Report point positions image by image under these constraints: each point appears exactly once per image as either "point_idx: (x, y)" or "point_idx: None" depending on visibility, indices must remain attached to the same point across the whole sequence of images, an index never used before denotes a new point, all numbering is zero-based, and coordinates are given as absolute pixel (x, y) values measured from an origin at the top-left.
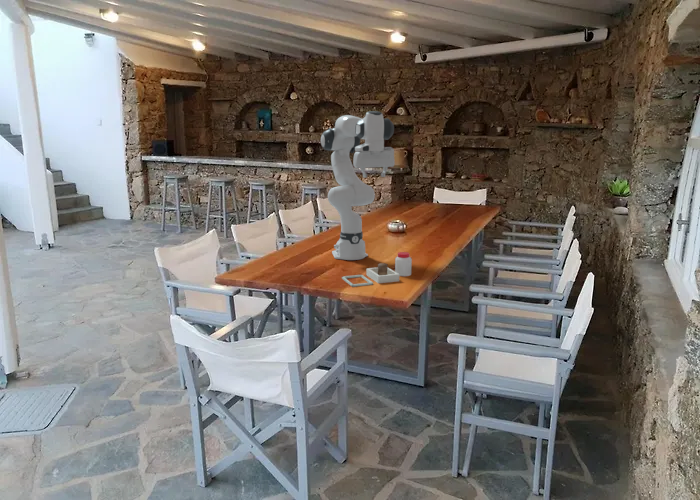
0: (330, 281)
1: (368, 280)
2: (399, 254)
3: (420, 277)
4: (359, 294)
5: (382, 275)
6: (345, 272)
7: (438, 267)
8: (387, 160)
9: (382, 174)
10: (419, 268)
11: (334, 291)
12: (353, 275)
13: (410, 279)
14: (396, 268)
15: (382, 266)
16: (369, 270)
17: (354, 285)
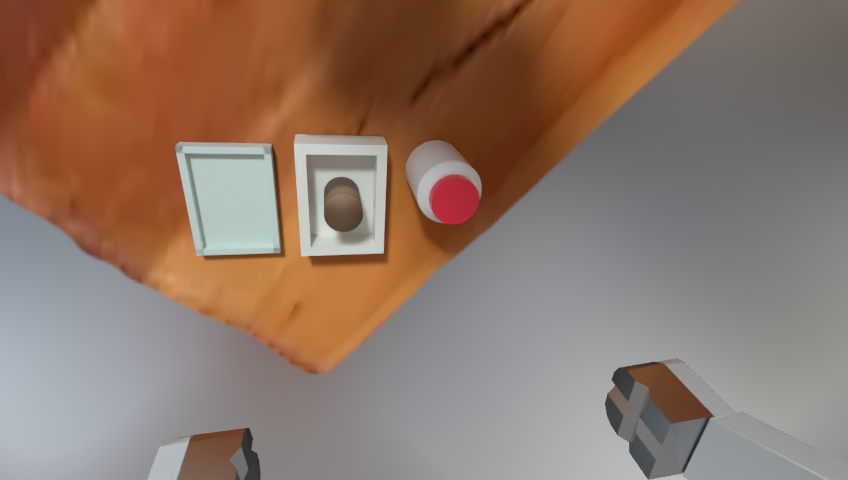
0: (124, 144)
1: (272, 225)
2: (432, 209)
3: None
4: (211, 305)
5: (320, 249)
6: (220, 32)
7: (605, 118)
8: None
9: (629, 451)
10: (540, 103)
11: (127, 260)
12: (231, 147)
13: None
14: (410, 184)
15: (335, 229)
16: (296, 175)
17: (207, 254)
